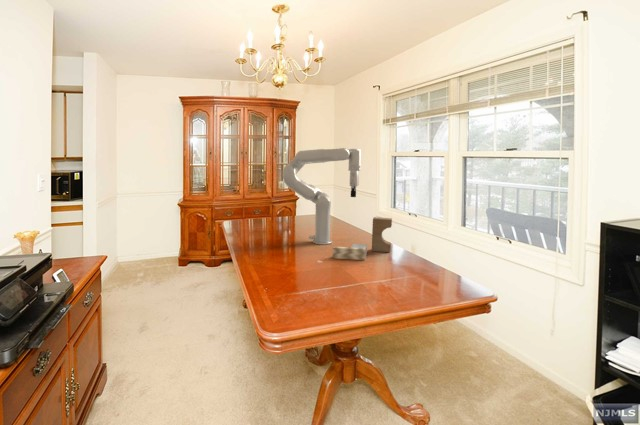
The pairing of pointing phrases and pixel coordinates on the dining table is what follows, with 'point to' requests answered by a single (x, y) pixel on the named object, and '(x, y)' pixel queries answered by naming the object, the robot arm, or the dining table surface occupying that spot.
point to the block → (360, 247)
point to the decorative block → (380, 234)
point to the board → (349, 253)
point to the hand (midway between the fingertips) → (353, 196)
